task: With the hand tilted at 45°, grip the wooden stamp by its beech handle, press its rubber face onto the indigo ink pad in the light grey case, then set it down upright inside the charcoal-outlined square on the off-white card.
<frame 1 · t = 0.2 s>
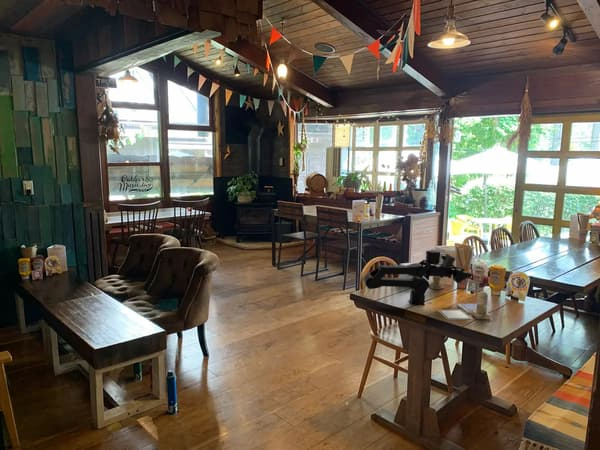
hand: (468, 272, 221), 17 cm above the table, tool horizontal, fingers open, 9 cm apart
wooden stamp: (480, 317, 205), on the table
candle holder: (435, 287, 251), on the table
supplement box: (406, 286, 252), on the table
marked card: (454, 314, 208), on the table
ink pad: (472, 309, 216), on the table
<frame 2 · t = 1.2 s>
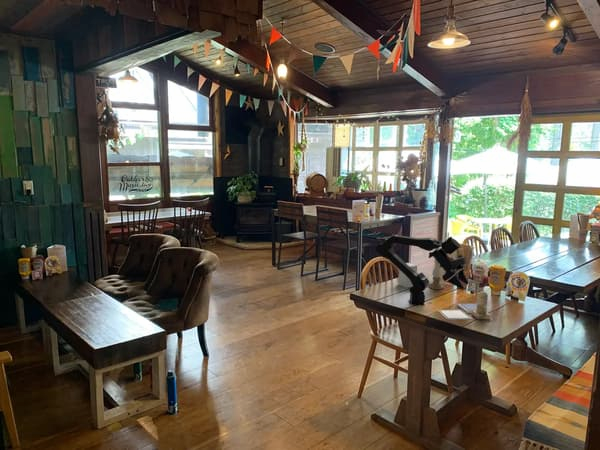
hand: (465, 286, 208), 14 cm above the table, tool tilted 45°, fingers open, 9 cm apart
nothing on the table moved.
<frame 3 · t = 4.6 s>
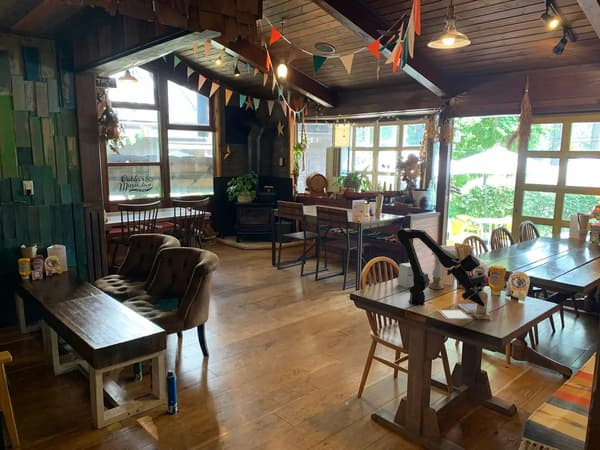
hand: (485, 304, 204), 7 cm above the table, tool tilted 45°, fingers closed on wooden stamp, 4 cm apart
wooden stamp: (480, 317, 205), on the table, touching gripper
everything else where it was.
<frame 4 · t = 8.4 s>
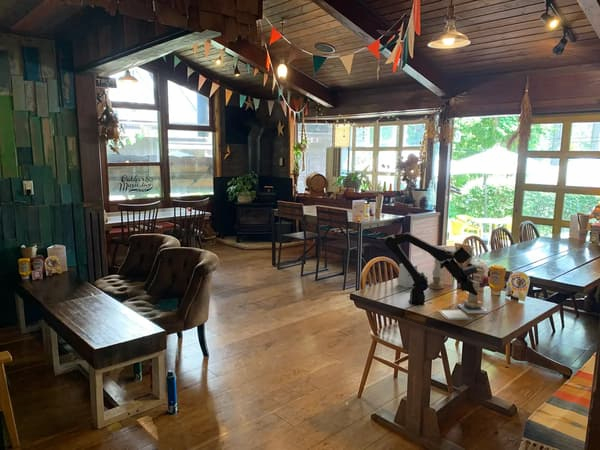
hand: (476, 293, 214), 8 cm above the table, tool tilted 45°, fingers closed on wooden stamp, 4 cm apart
wooden stamp: (472, 306, 216), point 2 cm above the table, touching gripper
everything else where it was.
when the fingers open (8 cm above the table, at t = 12.5 s): wooden stamp drops 2 cm, resting on marked card.
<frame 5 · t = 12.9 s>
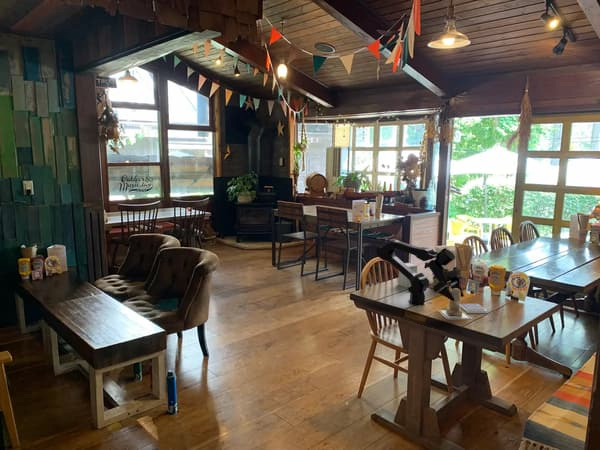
hand: (458, 298, 206), 8 cm above the table, tool tilted 45°, fingers open, 9 cm apart
wooden stamp: (453, 314, 209), resting on marked card
everything else where it was.
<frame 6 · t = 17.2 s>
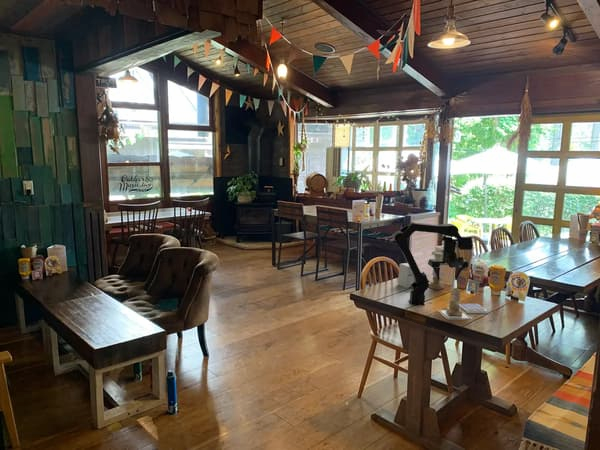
hand: (446, 279, 220), 13 cm above the table, tool pointing down, fingers open, 9 cm apart
nothing on the table moved.
at the end: wooden stamp 0.3 cm off-centre on the marked card, point 0.2 cm above the marked card's base; wooden stamp tilted 0°; the gripper is holding nothing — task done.
